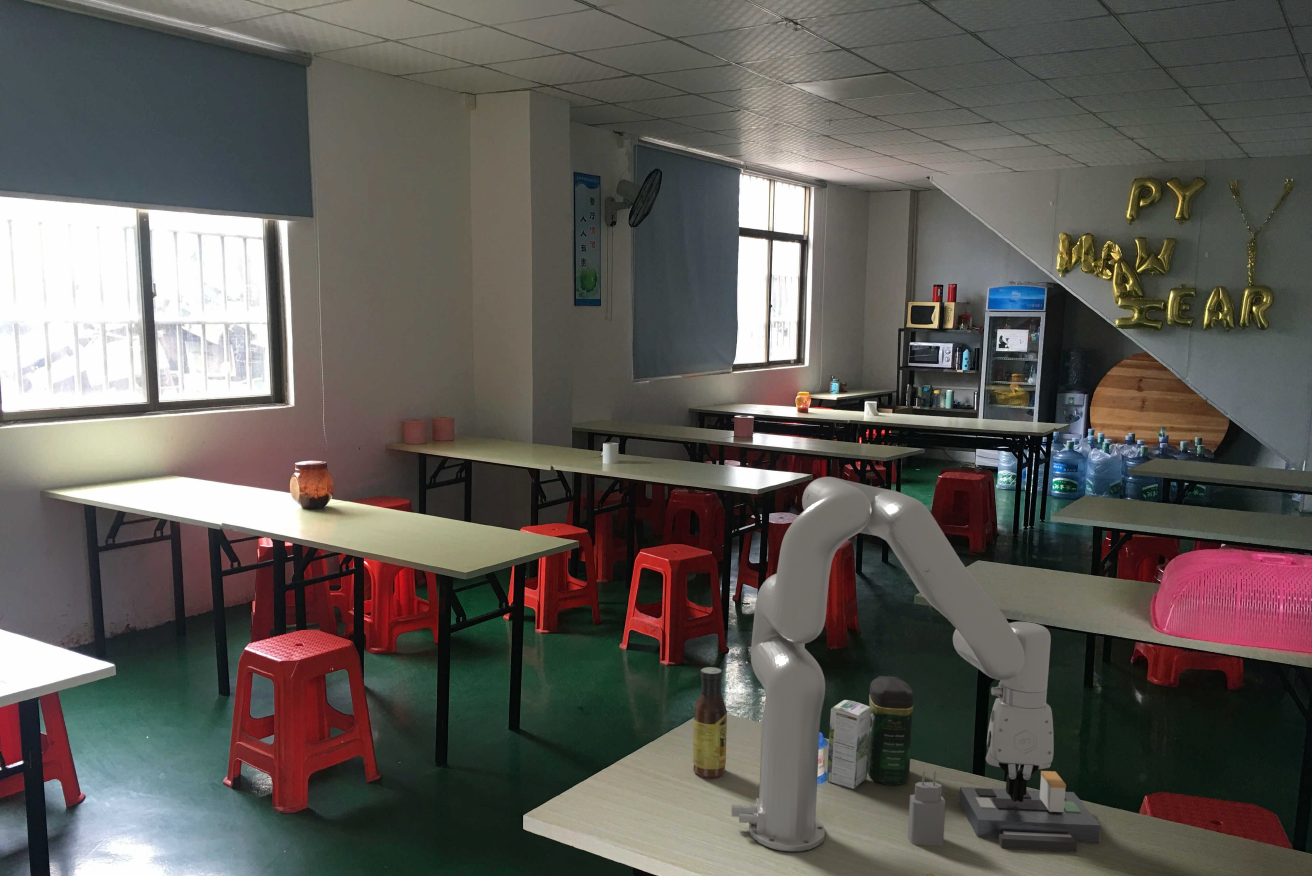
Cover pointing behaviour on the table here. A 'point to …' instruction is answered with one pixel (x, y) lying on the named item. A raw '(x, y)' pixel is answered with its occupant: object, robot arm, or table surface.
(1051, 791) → the lever
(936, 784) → the power adapter
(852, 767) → the syrup box
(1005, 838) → the dark grey bar
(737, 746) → the table surface
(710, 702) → the sauce bottle
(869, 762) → the coffee jar
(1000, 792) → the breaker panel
